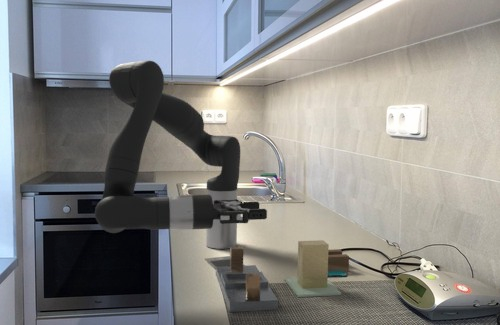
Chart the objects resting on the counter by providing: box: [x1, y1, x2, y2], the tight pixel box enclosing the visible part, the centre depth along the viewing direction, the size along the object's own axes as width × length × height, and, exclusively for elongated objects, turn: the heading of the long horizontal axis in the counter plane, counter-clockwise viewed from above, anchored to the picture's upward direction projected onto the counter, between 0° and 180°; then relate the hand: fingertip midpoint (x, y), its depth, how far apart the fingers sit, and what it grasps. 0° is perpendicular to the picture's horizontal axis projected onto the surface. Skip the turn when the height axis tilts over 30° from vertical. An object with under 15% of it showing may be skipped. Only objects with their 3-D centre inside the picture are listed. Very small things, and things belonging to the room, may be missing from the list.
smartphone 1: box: [204, 255, 246, 271], centre depth 138 cm, size 15×8×1 cm, turn 22°
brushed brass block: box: [296, 239, 329, 288], centre depth 121 cm, size 4×6×10 cm, turn 100°
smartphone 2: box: [328, 271, 348, 278], centre depth 136 cm, size 7×1×15 cm
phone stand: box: [328, 248, 350, 273], centre depth 136 cm, size 7×10×4 cm
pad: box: [284, 276, 342, 298], centre depth 121 cm, size 12×10×1 cm
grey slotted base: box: [215, 246, 279, 313], centre depth 118 cm, size 25×10×7 cm, turn 10°
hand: (262, 209), depth 118 cm, fingers open, 8 cm apart
